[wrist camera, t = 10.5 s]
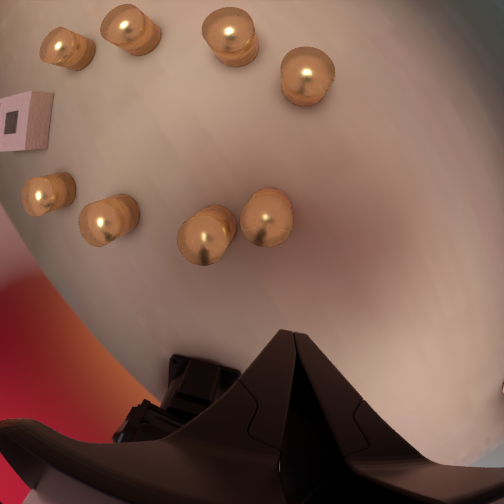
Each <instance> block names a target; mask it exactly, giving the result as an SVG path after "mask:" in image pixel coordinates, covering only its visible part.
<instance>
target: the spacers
mask: <svg viewBox="0 0 504 504" xmlns="http://www.w3.org/2000/svg"><path fill="white" fill-rule="evenodd" d="M100 32H101V36H102V37H103V38H104V39H105V40H107V41H109V42H111V43H113V44H114V45H116V46H118V47H120V48H122V49H123V50H125V51H127V52H129V53H131V54H132V55H135V56H141V55H145V54H147V53H149V52H151V51H152V50H153V49H154V48H155V47H156V46H157V45H158V43H159V41H160V39H161V30H160V28H159V27H158V26H157V25H156V24H155V23H154V22H153V21H152V20H151V19H149V18H148V17H147V16H146V15H145V14H144V13H143V12H141V11H140V10H139V9H138V8H137V7H136V6H134V5H132V4H123V5H120V6H118V7H116V8H114V9H113V10H111V11H110V12H109V13H108V14H107V15H106V17H105V18H104V20H103V22H102V24H101V28H100ZM202 35H203V37H204V39H205V40H206V42H207V43H208V45H209V46H210V47H211V49H212V50H213V52H214V53H215V54H216V56H217V57H218V59H219V60H220V61H221V62H222V63H224V64H225V65H228V66H232V67H240V66H244V65H246V64H248V63H250V62H251V61H252V60H254V58H255V57H256V56H257V53H258V50H259V46H258V41H257V37H256V33H255V29H254V24H253V21H252V18H251V16H250V15H249V14H248V13H247V12H245V11H244V10H242V9H239V8H235V7H226V8H221V9H218V10H216V11H214V12H212V13H211V14H210V15H209V16H208V17H207V18H206V19H205V21H204V22H203V25H202ZM94 54H95V44H94V42H93V41H92V40H90V39H88V38H86V37H84V36H81V35H79V34H77V33H75V32H72V31H70V30H68V29H66V28H63V27H58V28H56V29H54V30H52V31H51V32H50V33H49V34H48V35H47V36H46V38H45V39H44V41H43V43H42V45H41V48H40V58H41V60H42V61H43V62H46V63H50V64H54V65H57V66H61V67H65V68H68V69H72V70H75V71H78V70H81V69H83V68H85V67H86V66H87V65H88V64H89V63H90V62H91V60H92V59H93V57H94ZM334 78H335V68H334V64H333V62H332V61H331V59H330V58H329V57H328V55H326V54H325V53H324V52H323V51H321V50H319V49H316V48H313V47H299V48H295V49H293V50H291V51H290V52H289V53H287V55H286V56H285V57H284V59H283V61H282V64H281V88H282V92H283V94H284V95H285V97H286V98H287V99H288V100H289V101H290V102H292V103H294V104H296V105H299V106H310V105H313V104H316V103H317V102H319V101H320V100H321V99H322V97H323V96H324V94H325V93H326V91H327V90H328V89H329V87H330V86H331V84H332V83H333V81H334ZM75 195H76V186H75V182H74V180H73V178H72V177H71V176H70V175H69V174H68V173H57V174H52V175H46V176H41V177H36V178H31V179H29V180H27V181H26V182H25V184H24V186H23V189H22V203H23V206H24V209H25V210H26V212H27V213H28V214H29V215H30V216H32V217H37V216H40V215H43V214H46V213H49V212H52V211H55V210H58V209H61V208H64V207H67V206H69V205H70V204H71V203H72V202H73V201H74V198H75ZM139 216H140V213H139V208H138V205H137V203H136V202H135V200H134V199H133V198H131V197H130V196H128V195H125V194H120V195H116V196H113V197H110V198H106V199H103V200H100V201H97V202H94V203H91V204H88V205H86V206H85V207H84V208H83V209H82V211H81V213H80V216H79V229H80V232H81V234H82V236H83V238H84V239H85V240H86V242H88V243H89V244H90V245H92V246H95V247H102V246H104V245H106V244H108V243H110V242H111V241H113V240H115V239H117V238H118V237H120V236H122V235H124V234H126V233H127V232H129V231H131V230H132V229H134V228H135V227H136V225H137V224H138V221H139ZM240 226H241V230H242V232H243V234H244V235H245V237H246V238H247V239H248V240H249V241H250V242H252V243H253V244H255V245H257V246H261V247H273V246H276V245H279V244H281V243H282V242H284V241H285V240H286V239H287V238H288V236H289V235H290V233H291V231H292V228H293V215H292V209H291V204H290V201H289V199H288V197H287V196H286V195H285V194H284V193H283V192H282V191H280V190H278V189H275V188H263V189H261V190H259V191H257V192H256V193H254V194H253V196H252V197H251V198H250V200H249V201H248V202H247V204H246V205H245V206H244V208H243V210H242V212H241V216H240ZM235 232H236V222H235V219H234V217H233V215H232V214H231V212H230V211H229V210H227V209H226V208H224V207H222V206H217V205H213V206H208V207H206V208H204V209H203V210H201V211H200V212H198V213H197V214H195V215H194V216H193V217H191V218H190V219H188V220H187V221H186V222H184V223H183V225H182V226H181V227H180V229H179V232H178V236H177V243H178V247H179V250H180V252H181V253H182V255H183V256H184V257H185V258H186V259H187V260H188V261H190V262H191V263H193V264H196V265H202V266H205V265H210V264H213V263H215V262H216V261H218V260H219V259H220V258H221V257H222V255H223V254H224V252H225V250H226V248H227V247H228V245H229V243H230V242H231V240H232V238H233V237H234V235H235Z"/></svg>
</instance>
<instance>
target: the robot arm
mask: <svg viewBox="0 0 504 504" xmlns="http://www.w3.org/2000/svg"><path fill="white" fill-rule="evenodd" d="M174 359H175V360H177V361H175V360H174ZM234 375H237V376H234ZM112 440H113V443H105V444H104V443H103V444H102V443H101V444H99V443H88V442H82V441H78V440H75V439H72V438H69V437H67V436H65V435H62V434H60V433H58V432H57V431H55V430H53V429H52V428H50V427H48V426H46V425H44V424H42V423H41V422H38V421H36V420H33V419H28V418H23V419H16V418H15V419H6V420H2V421H0V452H1V454H2V455H3V456H4V458H5V459H6V460H7V462H8V463H9V464H10V466H11V467H12V468H13V469H14V471H15V472H16V473H17V474H18V475H19V477H20V478H21V479H22V480H23V481H24V482H25V483H26V485H27V486H28V487H29V488H30V489H31V491H30V492H29V494H28V496H27V497H26V499H25V500H24V502H23V504H504V468H485V467H484V468H482V467H463V466H450V465H442V464H438V463H435V462H433V461H431V460H429V459H427V458H426V457H424V456H423V455H422V454H421V453H419V452H418V451H417V450H416V449H415V448H414V447H413V446H411V445H410V444H409V443H408V442H407V441H406V440H405V439H404V438H402V437H401V436H400V435H399V434H398V433H397V432H396V431H395V430H393V429H392V428H391V427H390V426H389V425H388V424H387V423H386V422H385V421H384V420H383V419H382V418H381V417H380V416H379V415H378V414H377V413H376V412H375V411H374V410H373V409H372V408H371V406H370V405H369V404H368V403H367V402H366V401H365V400H363V398H362V396H361V395H360V394H359V393H358V392H357V391H356V390H355V389H354V387H353V386H352V385H351V384H350V383H349V382H348V381H347V380H346V378H345V377H344V376H343V375H342V374H341V373H340V372H339V371H338V369H337V368H336V367H335V366H334V365H333V364H332V363H331V361H330V360H329V359H328V358H327V357H326V356H325V355H324V353H323V352H322V351H321V350H320V349H319V348H318V347H317V345H316V344H315V343H314V342H313V341H312V340H311V339H310V337H309V336H308V335H307V334H303V333H298V332H294V333H293V332H292V331H288V330H283V329H280V330H279V331H278V332H277V333H276V334H275V336H274V337H273V338H272V339H271V341H270V342H269V343H268V344H267V345H266V347H265V348H264V349H263V350H262V352H261V353H260V354H259V355H258V356H257V357H256V359H255V360H254V361H253V362H252V363H251V365H250V366H249V367H248V368H247V369H246V370H245V372H244V373H243V374H242V375H241V373H240V372H239V371H237V370H233V369H229V368H225V367H221V366H216V365H212V364H208V363H204V362H201V361H197V360H193V359H189V358H186V357H182V356H178V355H172V356H171V358H170V362H169V383H168V391H167V393H166V395H165V397H164V399H163V402H162V404H161V406H160V407H158V406H156V405H154V404H152V403H150V401H148V400H146V399H144V400H143V402H142V404H141V405H140V404H138V406H137V407H132V409H131V410H130V412H129V414H128V416H127V418H126V419H125V421H124V422H123V424H121V426H120V427H119V428H118V429H117V431H116V432H115V433H114V435H113V437H112ZM279 463H280V471H279ZM0 504H2V503H1V502H0Z"/></svg>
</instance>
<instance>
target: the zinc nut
mask: <svg viewBox="0 0 504 504" xmlns="http://www.w3.org/2000/svg"><path fill="white" fill-rule="evenodd" d="M53 97H54V94H51V93H44V92H37V91H29V92H24V93H20V94H16V95H12V96H9V97H5V98H1V99H0V152H1V151H18V150H32V149H45V148H47V147H48V135H49V126H50V117H51V110H52V103H53Z"/></svg>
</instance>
